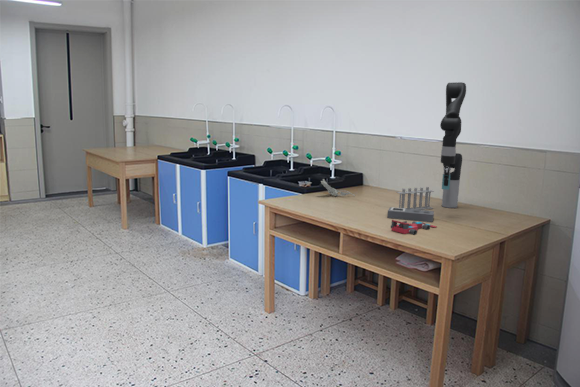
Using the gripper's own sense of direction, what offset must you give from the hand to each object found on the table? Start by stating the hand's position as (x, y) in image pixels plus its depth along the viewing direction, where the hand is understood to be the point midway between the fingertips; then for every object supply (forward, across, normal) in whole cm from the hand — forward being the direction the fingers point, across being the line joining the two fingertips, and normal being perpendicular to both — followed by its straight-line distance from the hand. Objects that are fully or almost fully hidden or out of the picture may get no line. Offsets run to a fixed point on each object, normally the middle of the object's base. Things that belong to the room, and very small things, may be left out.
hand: (445, 185), depth 269 cm
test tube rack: (+18, +12, +17) cm, 28 cm away
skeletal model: (+18, +33, +71) cm, 81 cm away
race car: (+18, -36, +13) cm, 43 cm away
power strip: (+18, -12, +17) cm, 27 cm away
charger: (+2, 0, 0) cm, 2 cm away
